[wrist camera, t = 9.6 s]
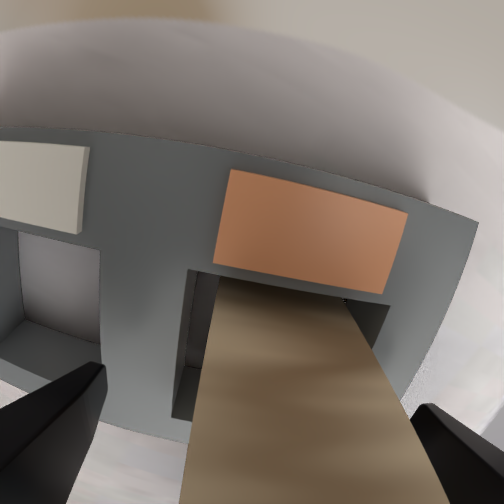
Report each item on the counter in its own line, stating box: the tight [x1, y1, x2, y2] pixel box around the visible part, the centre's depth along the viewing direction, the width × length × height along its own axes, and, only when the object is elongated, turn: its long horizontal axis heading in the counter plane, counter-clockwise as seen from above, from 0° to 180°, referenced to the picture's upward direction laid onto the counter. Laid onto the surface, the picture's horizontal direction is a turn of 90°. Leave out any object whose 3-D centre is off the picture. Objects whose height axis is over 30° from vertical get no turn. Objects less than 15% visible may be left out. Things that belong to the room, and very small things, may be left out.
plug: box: [179, 275, 450, 504], centre depth 7 cm, size 4×4×10 cm
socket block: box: [0, 127, 479, 444], centre depth 10 cm, size 18×10×3 cm, turn 78°
